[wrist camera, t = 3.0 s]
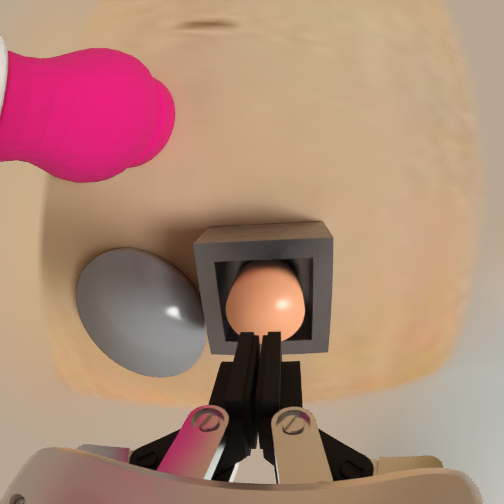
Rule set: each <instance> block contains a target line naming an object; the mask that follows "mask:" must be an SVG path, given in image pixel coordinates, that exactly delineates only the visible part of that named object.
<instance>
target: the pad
mask: <svg viewBox="0 0 504 504" xmlns="http://www.w3.org/2000/svg"><path fill="white" fill-rule="evenodd" d="M76 299H77V307H78V312H79V315H80V318H81V321H82V323H83V325H84V327H85V329H86V331H87V333H88V334H89V336H90V337H91V339H92V340H93V341H94V343H95V344H96V345H97V346H98V347H99V348H100V350H101V351H102V352H103V353H105V354H106V355H107V356H108V357H109V358H110V359H112V360H113V361H114V362H116V363H117V364H119V365H121V366H122V367H124V368H126V369H128V370H130V371H133V372H135V373H138V374H141V375H145V376H150V377H170V376H175V375H178V374H181V373H183V372H185V371H187V370H188V369H189V368H191V367H192V366H193V365H194V364H195V363H196V362H197V360H198V359H199V357H200V355H201V353H202V350H203V348H204V345H205V342H206V339H207V329H206V323H205V318H204V312H203V307H202V301H201V299H200V297H199V295H198V293H197V291H196V290H195V288H194V287H193V285H192V284H191V283H190V281H189V280H188V279H187V278H186V277H185V276H184V275H183V274H182V273H181V272H180V271H179V270H178V269H177V268H176V267H175V266H173V265H172V264H171V263H169V262H168V261H166V260H165V259H163V258H161V257H159V256H157V255H155V254H153V253H151V252H148V251H145V250H141V249H136V248H116V249H112V250H109V251H107V252H105V253H103V254H101V255H100V256H98V257H96V258H95V259H93V260H92V261H91V262H90V263H89V264H88V265H87V266H86V267H85V268H84V270H83V271H82V273H81V275H80V278H79V280H78V284H77V292H76Z"/></svg>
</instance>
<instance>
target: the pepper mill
mask: <svg viewBox="0 0 504 504" xmlns="http://www.w3.org/2000/svg"><path fill="white" fill-rule="evenodd" d="M174 121H175V107H174V102H173V99H172V96H171V94H170V92H169V91H168V89H167V88H166V87H165V86H164V84H162V83H161V82H160V81H158V80H157V79H155V78H153V77H152V75H151V74H150V72H149V70H148V69H147V68H146V67H145V66H144V65H143V64H142V63H141V62H140V61H139V60H138V59H136V58H135V57H133V56H131V55H129V54H126V53H123V52H121V51H117V50H112V49H108V48H90V49H85V50H80V51H75V52H72V53H68V54H64V55H61V56H57V57H52V58H41V59H40V58H33V57H25V56H21V55H19V54H16V53H13V52H11V51H8V50H7V46H6V43H5V41H4V39H3V38H2V37H1V36H0V162H2V161H13V160H19V161H24V162H29V163H31V164H33V165H35V166H37V167H39V168H41V169H43V170H44V171H46V172H48V173H49V174H51V175H53V176H55V177H57V178H61V179H64V180H68V181H72V182H77V183H86V182H98V181H102V180H107V179H109V178H112V177H114V176H115V175H117V174H119V173H121V172H123V171H124V170H125V169H127V168H130V167H136V166H139V165H142V164H144V163H146V162H148V161H150V160H151V159H152V158H154V157H155V156H156V155H157V154H158V153H159V152H160V151H161V150H162V149H163V148H164V146H165V145H166V143H167V141H168V140H169V137H170V135H171V133H172V130H173V126H174Z"/></svg>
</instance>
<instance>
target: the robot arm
mask: <svg viewBox="0 0 504 504" xmlns="http://www.w3.org/2000/svg"><path fill="white" fill-rule="evenodd" d="M258 435H259V444H260V449H263V453H264V458H265V459H266V460H267V461H269V462H270V463H271V464H272V465H273V467H274V475H275V483H276V484H250V483H234V482H233V481H234V478H235V475H236V473H237V470H238V467H239V462H240V461H241V460H243V459H244V458H246V457H247V456H250V453H251V449H256V446H257V437H258ZM0 504H485V502H484V500H483V497H482V495H481V493H480V491H479V489H478V487H477V486H476V484H475V482H474V481H473V480H472V478H471V477H470V476H469V475H467V474H466V473H464V472H462V471H459V470H455V469H449V468H443V465H442V462H441V461H440V460H439V459H438V458H436V457H434V456H412V457H379V459H378V460H370V459H369V458H367V457H366V456H365V455H363V454H361V453H359V452H357V451H355V450H354V449H352V448H350V447H348V446H347V445H345V444H343V443H341V442H340V441H338V440H336V439H335V438H333V437H331V436H330V435H328V434H326V433H325V432H323V431H321V430H320V429H318V427H317V424H316V420H315V418H314V416H313V414H312V413H311V412H310V411H309V410H306V409H304V408H302V389H301V372H300V361H291V362H282V349H281V331H275V332H268V335H263V337H262V346H261V353H260V340H259V335H254V332H240V336H239V340H238V344H237V349H236V353H235V357H234V361H233V362H221V365H220V368H219V371H218V374H217V378H216V381H215V385H214V388H213V391H212V395H211V398H210V401H209V405H205V406H201V407H198V408H196V409H194V410H193V411H192V412H191V413H190V414H189V415H188V417H187V419H186V421H185V422H184V424H183V426H182V428H181V429H179V430H178V431H175V432H173V433H171V434H169V435H167V436H165V437H162V438H160V439H158V440H156V441H153V442H151V443H149V444H147V445H144V446H142V447H140V448H138V449H136V450H135V451H131V449H130V448H120V447H108V446H98V445H90V444H89V445H82V446H79V447H78V448H77V449H72V448H60V447H52V448H44V449H41V450H39V451H37V452H36V453H35V454H33V455H32V456H31V457H30V458H29V459H28V461H27V462H26V463H25V464H24V465H23V467H22V468H21V470H20V471H19V472H18V474H17V475H16V477H15V478H14V479H13V481H12V482H11V484H10V485H9V487H8V489H7V491H6V492H5V494H4V496H3V498H2V499H1V501H0Z"/></svg>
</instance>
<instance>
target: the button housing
mask: <svg viewBox="0 0 504 504" xmlns="http://www.w3.org/2000/svg"><path fill="white" fill-rule="evenodd" d="M193 250H194V257H195V263H196V270H197V276H198V283H199V289H200V295H201V301H202V307H203V312H204V318H205V323H206V329H207V334H208V340H209V345H210V350H211V354H222V355H235V353H236V349H237V344H238V340H239V336H240V335H239V334H238V333H236V332H235V331H234V329H233V328H232V327H231V325H230V324H229V322H228V319H227V315H226V303H227V299H228V296H229V294H230V291H231V288H232V285H233V282H234V280H235V277H236V275H237V274H238V272H239V271H240V270H241V269H242V268H243V267H244V266H246V265H247V264H249V263H251V262H253V261H256V260H271V259H274V260H278V261H281V262H283V263H285V264H287V265H288V266H290V267H291V268H292V269H293V270H294V271H295V272H296V274H297V275H298V277H299V279H300V282H301V286H302V292H303V299H304V306H305V315H304V320H303V322H302V324H301V326H300V328H299V329H298V330H297V331H296V332H295V333H294V334H293V335H292V336H291V337H289V338H287V339H286V340H283V341H281V349H282V354H305V353H322V352H328V345H329V333H330V318H331V300H332V276H333V236H332V235H331V233H330V232H329V230H328V228H327V227H326V225H325V224H324V222H323V221H322V222H296V223H274V224H254V225H236V226H220V227H208V228H207V229H206V230H205V231H204V233H203V234H202V235H201V236H200V237H199V238H198V239H197V240H196V241H195V242H194V243H193ZM261 346H262V344H260V353H261Z"/></svg>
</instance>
